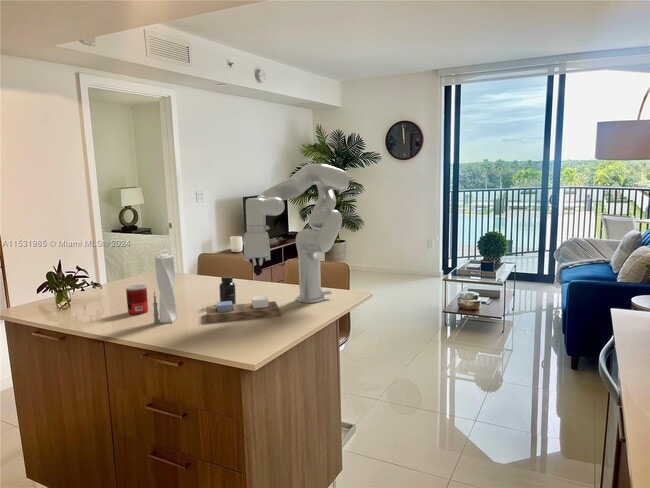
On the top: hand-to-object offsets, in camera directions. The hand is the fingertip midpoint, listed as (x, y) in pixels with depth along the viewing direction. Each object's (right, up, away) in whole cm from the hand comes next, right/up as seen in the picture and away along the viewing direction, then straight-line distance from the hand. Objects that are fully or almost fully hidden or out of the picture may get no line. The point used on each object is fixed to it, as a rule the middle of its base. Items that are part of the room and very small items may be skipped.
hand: (257, 274), depth 191 cm
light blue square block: (-13, -14, -1) cm, 19 cm away
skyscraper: (-35, -18, -4) cm, 39 cm away
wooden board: (-6, -16, +1) cm, 17 cm away
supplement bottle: (-16, -14, +19) cm, 28 cm away
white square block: (+1, -13, +2) cm, 13 cm away
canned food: (-51, -17, +9) cm, 54 cm away
